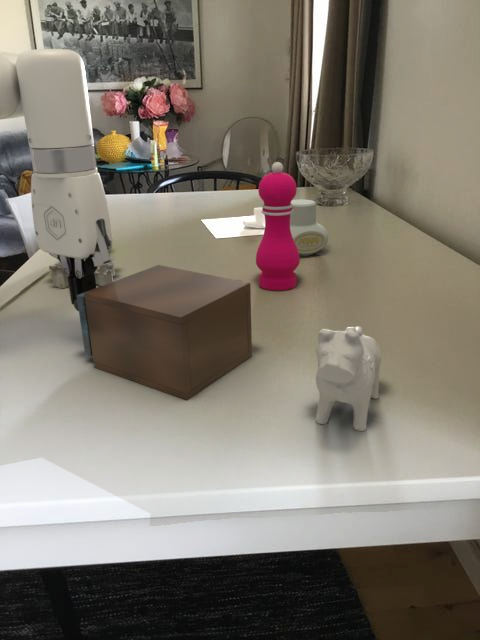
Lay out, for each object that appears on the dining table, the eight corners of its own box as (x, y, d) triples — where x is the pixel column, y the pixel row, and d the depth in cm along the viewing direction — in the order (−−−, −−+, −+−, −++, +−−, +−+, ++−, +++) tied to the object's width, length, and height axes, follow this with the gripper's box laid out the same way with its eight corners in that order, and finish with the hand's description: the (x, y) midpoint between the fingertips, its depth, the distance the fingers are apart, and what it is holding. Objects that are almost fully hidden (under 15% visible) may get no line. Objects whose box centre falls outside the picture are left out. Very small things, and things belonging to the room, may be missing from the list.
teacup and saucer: (245, 231, 130) (245, 213, 129) (237, 223, 138) (237, 207, 136) (281, 228, 132) (281, 210, 131) (272, 221, 139) (272, 204, 138)
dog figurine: (301, 444, 53) (303, 340, 49) (334, 380, 64) (337, 291, 60) (358, 455, 51) (365, 348, 47) (382, 388, 62) (388, 297, 58)
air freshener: (316, 244, 118) (317, 196, 114) (334, 254, 111) (336, 203, 107) (267, 250, 115) (266, 200, 111) (282, 260, 108) (282, 208, 104)
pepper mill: (293, 276, 99) (294, 158, 91) (304, 290, 92) (306, 163, 85) (252, 279, 98) (250, 160, 90) (261, 293, 91) (259, 166, 83)
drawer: (62, 346, 72) (52, 289, 69) (126, 317, 81) (120, 265, 78) (167, 382, 63) (161, 317, 60) (227, 345, 71) (225, 286, 68)
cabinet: (94, 367, 68) (83, 292, 65) (164, 331, 78) (158, 264, 74) (186, 400, 61) (180, 317, 57) (252, 356, 70) (250, 282, 66)
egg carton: (49, 289, 96) (45, 266, 94) (59, 276, 103) (55, 254, 101) (112, 286, 96) (109, 263, 95) (118, 273, 103) (115, 251, 102)
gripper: (0, 162, 70) (26, 301, 77) (81, 168, 62) (102, 322, 69) (50, 156, 76) (70, 285, 83) (130, 160, 68) (145, 303, 75)
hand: (85, 302), depth 76 cm, fingers closed
